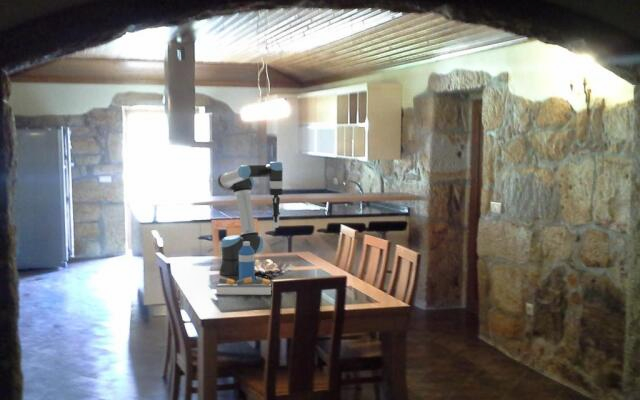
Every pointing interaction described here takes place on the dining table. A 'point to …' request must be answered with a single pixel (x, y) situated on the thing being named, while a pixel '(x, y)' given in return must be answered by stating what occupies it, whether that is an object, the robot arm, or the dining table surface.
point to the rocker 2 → (244, 280)
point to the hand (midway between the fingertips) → (276, 226)
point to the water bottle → (246, 261)
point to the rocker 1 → (226, 280)
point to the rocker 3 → (262, 280)
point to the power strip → (244, 288)
